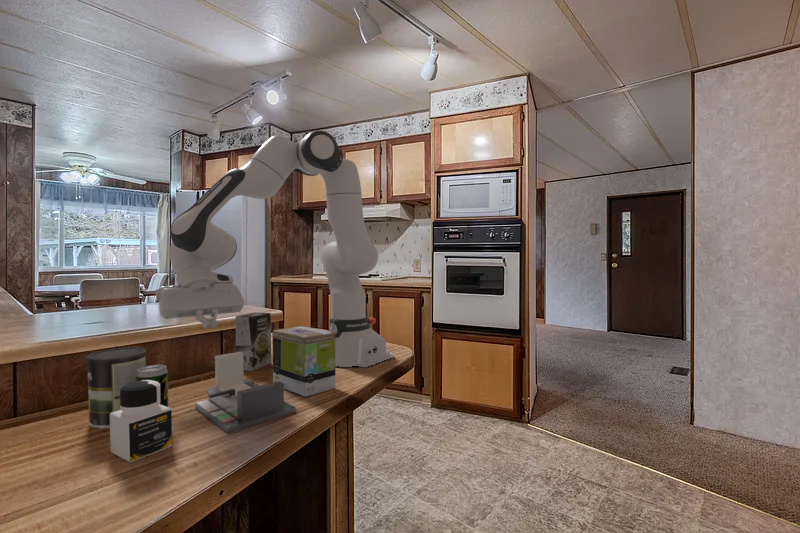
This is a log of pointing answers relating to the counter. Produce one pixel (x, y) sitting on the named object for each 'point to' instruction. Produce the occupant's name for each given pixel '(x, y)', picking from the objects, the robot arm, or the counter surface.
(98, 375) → the coffee can
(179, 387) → the counter surface
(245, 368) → the coffee box
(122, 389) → the medicine bottle
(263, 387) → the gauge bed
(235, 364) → the plunger
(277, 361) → the tea box
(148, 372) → the green drink can
